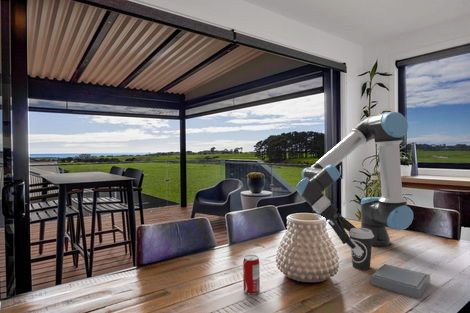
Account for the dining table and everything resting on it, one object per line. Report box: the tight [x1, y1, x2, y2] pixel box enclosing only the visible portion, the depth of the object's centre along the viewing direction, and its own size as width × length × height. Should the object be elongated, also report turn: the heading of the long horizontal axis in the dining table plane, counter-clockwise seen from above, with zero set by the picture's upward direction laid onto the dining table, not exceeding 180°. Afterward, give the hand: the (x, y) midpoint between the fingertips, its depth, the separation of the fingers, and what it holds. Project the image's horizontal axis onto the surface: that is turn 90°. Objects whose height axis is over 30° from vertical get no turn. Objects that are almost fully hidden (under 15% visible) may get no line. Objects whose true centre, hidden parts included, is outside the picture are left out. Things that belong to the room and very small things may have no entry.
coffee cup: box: [347, 227, 374, 271], centre depth 119 cm, size 10×10×15 cm
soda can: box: [242, 254, 261, 295], centre depth 100 cm, size 6×6×12 cm
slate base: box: [370, 263, 431, 300], centre depth 104 cm, size 15×15×3 cm
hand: (363, 249), depth 119 cm, fingers open, 13 cm apart
